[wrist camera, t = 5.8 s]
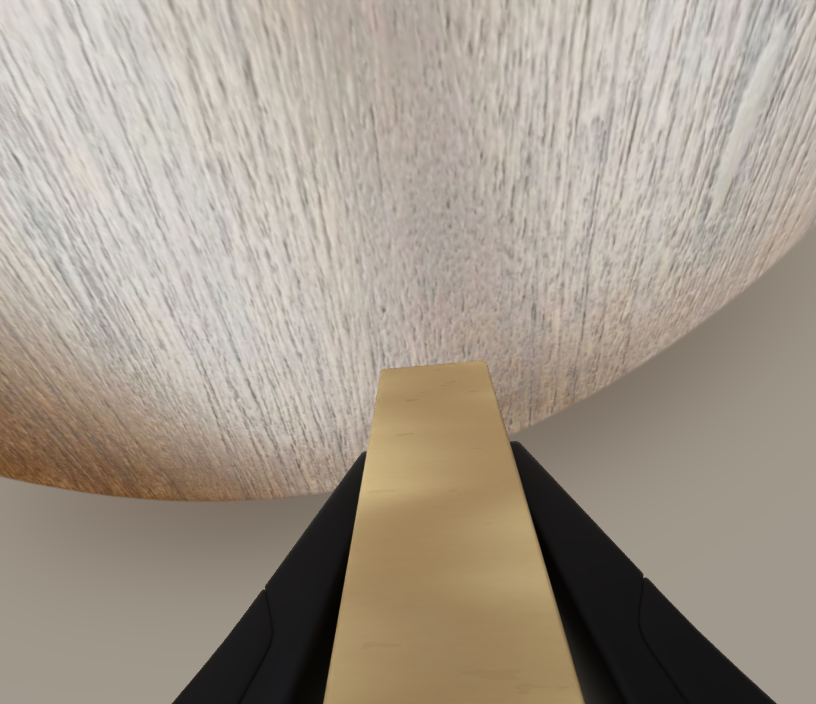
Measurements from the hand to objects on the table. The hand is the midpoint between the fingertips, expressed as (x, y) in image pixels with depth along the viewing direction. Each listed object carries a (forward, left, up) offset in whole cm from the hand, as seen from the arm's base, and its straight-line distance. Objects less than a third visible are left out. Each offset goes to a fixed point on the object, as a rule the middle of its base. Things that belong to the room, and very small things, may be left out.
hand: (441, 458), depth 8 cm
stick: (0, 0, -2) cm, 2 cm away
